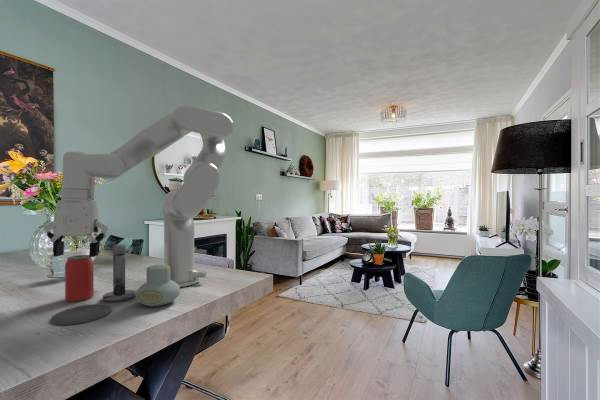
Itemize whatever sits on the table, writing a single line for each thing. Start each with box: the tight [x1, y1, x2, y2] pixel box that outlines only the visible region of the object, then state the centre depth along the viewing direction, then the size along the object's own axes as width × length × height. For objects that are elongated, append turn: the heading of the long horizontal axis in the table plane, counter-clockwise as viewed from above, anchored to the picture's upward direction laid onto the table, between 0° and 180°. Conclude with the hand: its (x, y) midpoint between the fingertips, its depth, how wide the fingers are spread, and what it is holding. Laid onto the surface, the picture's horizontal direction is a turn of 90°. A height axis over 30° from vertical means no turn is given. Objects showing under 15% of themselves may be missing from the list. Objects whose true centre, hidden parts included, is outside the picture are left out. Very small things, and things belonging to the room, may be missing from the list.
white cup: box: [62, 247, 90, 272], centre depth 111 cm, size 8×8×10 cm
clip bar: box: [112, 237, 133, 255], centre depth 96 cm, size 22×3×2 cm, turn 22°
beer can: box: [64, 255, 95, 303], centre depth 87 cm, size 7×7×12 cm
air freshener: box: [135, 264, 181, 308], centre depth 84 cm, size 11×8×10 cm
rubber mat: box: [50, 303, 113, 326], centre depth 75 cm, size 12×12×1 cm
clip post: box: [102, 253, 136, 304], centre depth 88 cm, size 8×8×13 cm
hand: (76, 256), depth 87 cm, fingers open, 9 cm apart
